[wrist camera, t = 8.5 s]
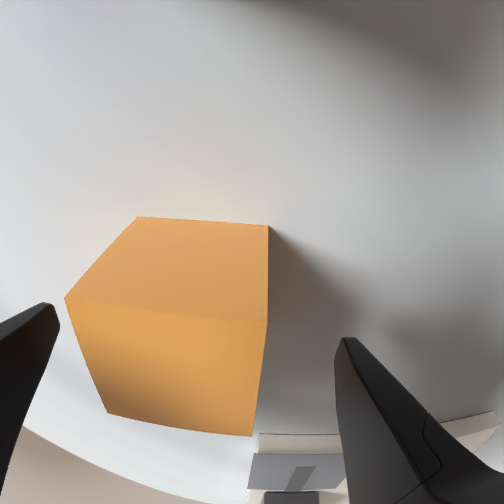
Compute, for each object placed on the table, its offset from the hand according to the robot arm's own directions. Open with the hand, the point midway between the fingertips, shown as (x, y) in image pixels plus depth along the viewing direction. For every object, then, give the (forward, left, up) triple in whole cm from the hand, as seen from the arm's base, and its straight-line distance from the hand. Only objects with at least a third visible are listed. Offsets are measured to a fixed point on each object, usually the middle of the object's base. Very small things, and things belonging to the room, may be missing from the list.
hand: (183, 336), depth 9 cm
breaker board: (-12, +17, -3) cm, 21 cm away
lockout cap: (0, 0, -3) cm, 3 cm away
